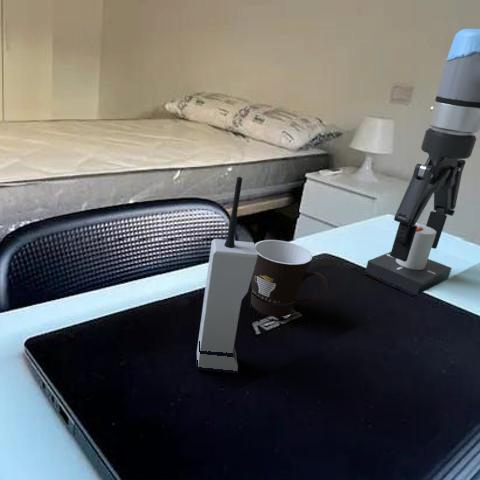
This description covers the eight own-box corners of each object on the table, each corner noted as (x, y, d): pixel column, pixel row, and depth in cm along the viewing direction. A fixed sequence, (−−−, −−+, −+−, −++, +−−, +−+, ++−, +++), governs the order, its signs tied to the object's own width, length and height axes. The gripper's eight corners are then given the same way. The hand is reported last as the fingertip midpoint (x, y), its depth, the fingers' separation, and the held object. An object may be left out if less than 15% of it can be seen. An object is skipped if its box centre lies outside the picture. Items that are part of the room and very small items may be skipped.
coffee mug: (233, 299, 80) (242, 242, 76) (277, 292, 84) (288, 237, 80) (275, 339, 71) (288, 277, 67) (323, 330, 74) (338, 270, 70)
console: (447, 282, 93) (452, 267, 92) (416, 298, 86) (421, 282, 85) (396, 261, 100) (400, 247, 99) (364, 274, 93) (368, 259, 92)
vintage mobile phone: (236, 375, 62) (270, 184, 53) (197, 371, 62) (223, 179, 53) (234, 357, 66) (265, 174, 56) (196, 354, 66) (221, 170, 56)
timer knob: (403, 256, 95) (414, 220, 92) (429, 266, 92) (442, 229, 89) (390, 261, 92) (401, 224, 89) (416, 272, 89) (429, 234, 86)
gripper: (458, 123, 92) (423, 233, 100) (395, 129, 78) (360, 257, 87) (503, 131, 87) (462, 247, 95) (443, 140, 73) (402, 274, 81)
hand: (413, 251), depth 91 cm, fingers open, 11 cm apart
